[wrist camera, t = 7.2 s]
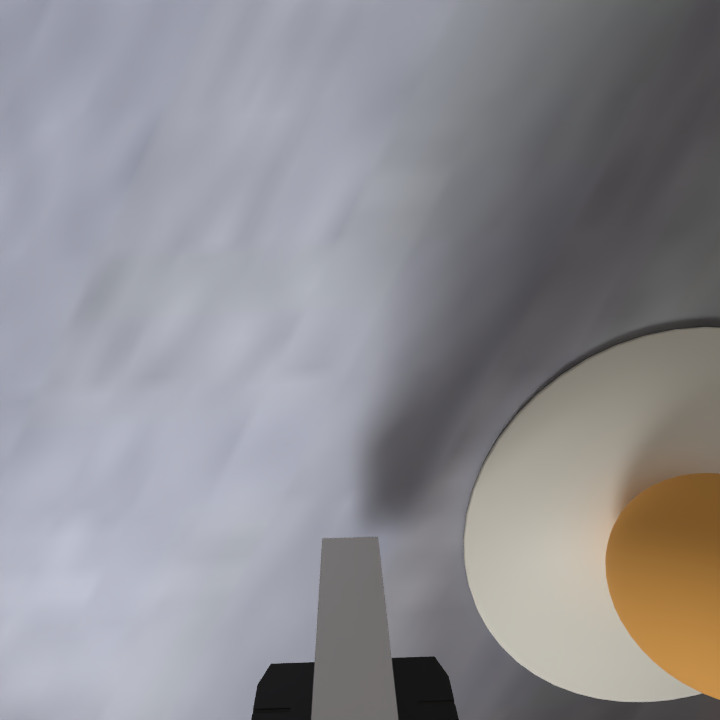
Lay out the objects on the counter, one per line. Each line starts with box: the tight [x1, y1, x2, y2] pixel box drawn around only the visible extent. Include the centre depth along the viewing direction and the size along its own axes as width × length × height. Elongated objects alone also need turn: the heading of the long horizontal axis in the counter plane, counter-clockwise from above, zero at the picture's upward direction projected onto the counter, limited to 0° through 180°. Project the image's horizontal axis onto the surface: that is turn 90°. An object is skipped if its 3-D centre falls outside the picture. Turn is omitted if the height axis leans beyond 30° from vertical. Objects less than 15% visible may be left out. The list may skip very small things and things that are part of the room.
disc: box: [463, 327, 720, 702], centre depth 16 cm, size 13×13×1 cm
